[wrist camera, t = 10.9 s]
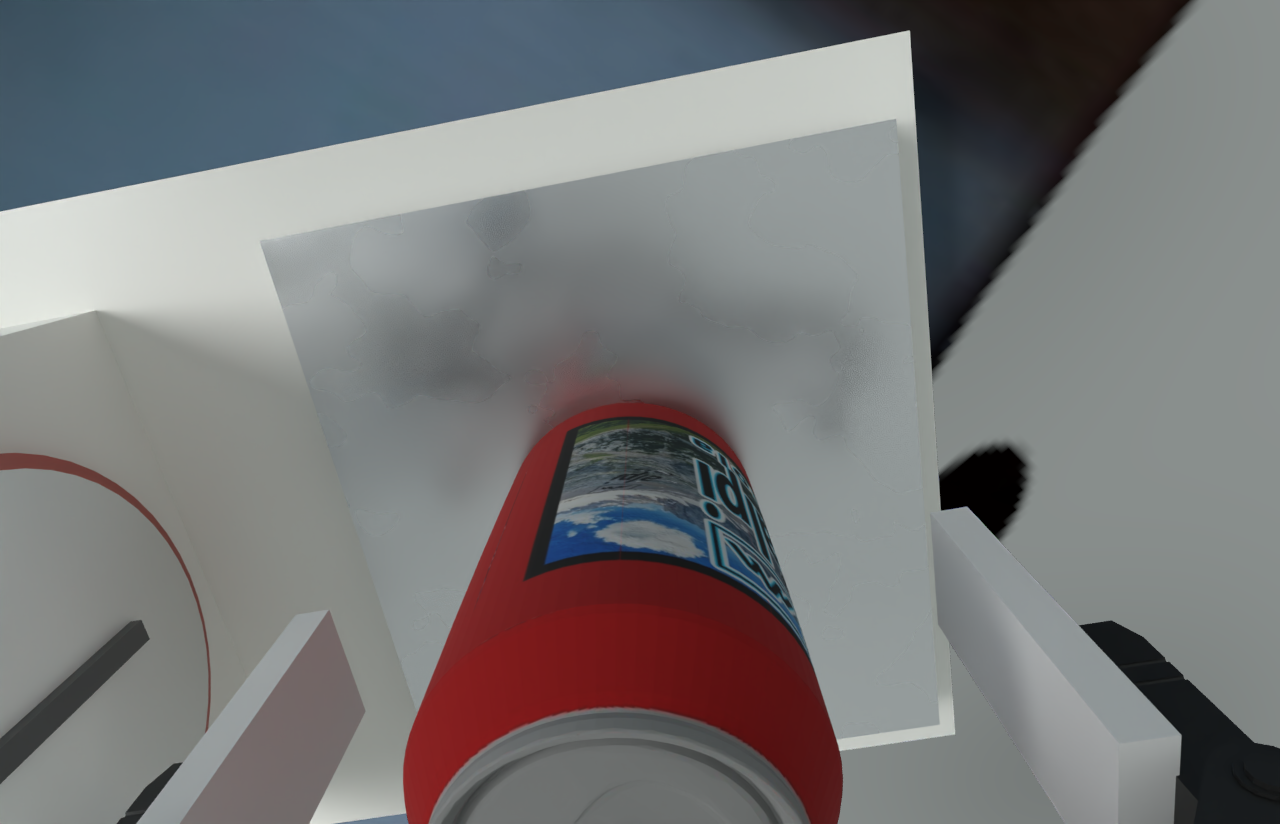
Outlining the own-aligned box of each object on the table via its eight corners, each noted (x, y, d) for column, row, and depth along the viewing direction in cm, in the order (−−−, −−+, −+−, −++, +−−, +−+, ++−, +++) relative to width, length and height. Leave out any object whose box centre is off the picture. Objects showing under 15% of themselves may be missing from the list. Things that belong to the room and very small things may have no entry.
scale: (232, 763, 31) (-199, 1396, 15) (-3, 224, 24) (-1230, 343, 8) (915, 660, 30) (1237, 1252, 14) (865, 52, 23) (1393, -207, 7)
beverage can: (802, 504, 21) (984, 894, 10) (635, 650, 23) (626, 1135, 11) (629, 340, 20) (608, 575, 8) (463, 508, 21) (257, 899, 10)
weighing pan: (453, 768, 26) (444, 796, 25) (280, 236, 20) (259, 241, 19) (926, 698, 25) (939, 724, 24) (881, 121, 19) (896, 118, 18)
